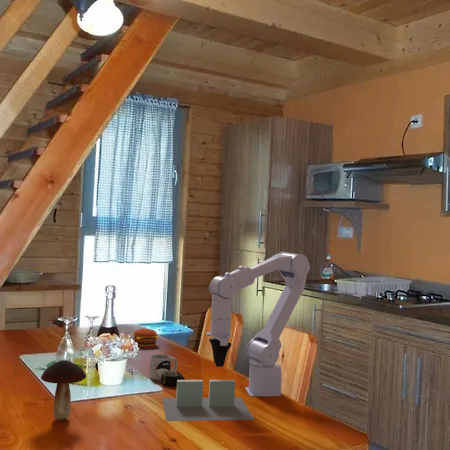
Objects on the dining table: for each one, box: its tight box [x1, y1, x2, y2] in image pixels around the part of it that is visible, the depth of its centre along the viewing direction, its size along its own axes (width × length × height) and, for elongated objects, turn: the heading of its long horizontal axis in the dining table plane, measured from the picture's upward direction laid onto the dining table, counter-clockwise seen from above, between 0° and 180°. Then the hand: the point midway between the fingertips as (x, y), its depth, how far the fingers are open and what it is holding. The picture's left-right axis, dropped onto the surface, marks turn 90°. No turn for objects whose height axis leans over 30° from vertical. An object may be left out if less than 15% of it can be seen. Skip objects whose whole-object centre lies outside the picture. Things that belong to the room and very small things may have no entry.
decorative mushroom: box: [40, 359, 87, 421], centre depth 145 cm, size 11×11×15 cm
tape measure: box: [160, 370, 186, 387], centre depth 178 cm, size 7×7×4 cm
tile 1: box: [208, 379, 236, 407], centre depth 160 cm, size 7×2×7 cm, turn 100°
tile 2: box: [175, 379, 204, 407], centre depth 158 cm, size 7×2×7 cm, turn 100°
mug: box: [149, 353, 178, 381], centre depth 187 cm, size 10×7×7 cm, turn 131°
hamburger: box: [131, 327, 160, 349], centre depth 228 cm, size 9×10×7 cm
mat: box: [161, 396, 255, 422], centre depth 157 cm, size 23×18×1 cm
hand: (218, 364), depth 167 cm, fingers open, 2 cm apart
